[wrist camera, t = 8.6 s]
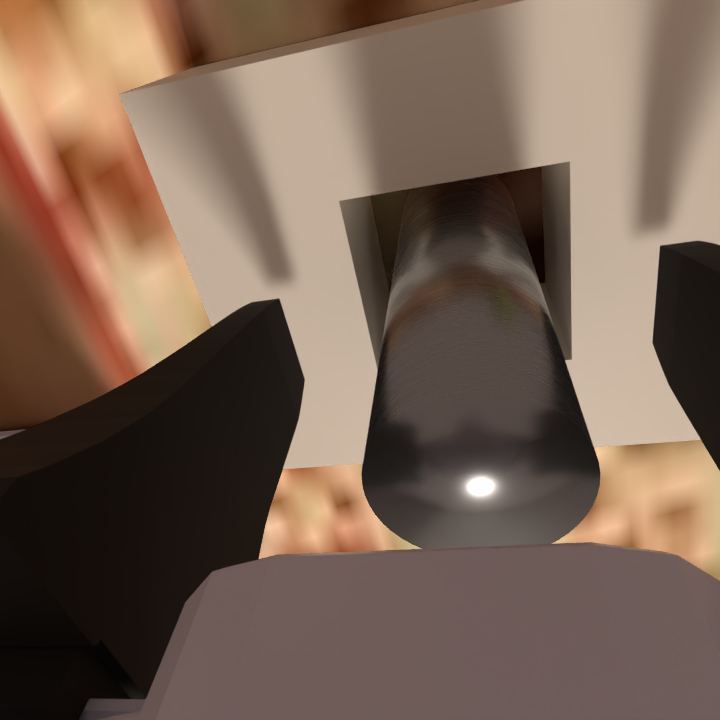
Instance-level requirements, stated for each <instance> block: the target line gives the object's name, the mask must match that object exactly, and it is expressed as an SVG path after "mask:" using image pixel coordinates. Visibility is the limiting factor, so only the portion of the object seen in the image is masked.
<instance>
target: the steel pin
mask: <svg viewBox="0 0 720 720" xmlns="http://www.w3.org/2000/svg"><path fill="white" fill-rule="evenodd" d="M362 485H363V489H364V493H365V496H366V499H367V501H368V503H369V505H370V507H371V508H372V510H373V512H374V513H375V515H376V516H377V517H378V518H379V519H380V520H381V522H382V523H383V524H384V525H385V526H387V527H388V528H389V529H390V530H391V531H392V532H394V533H395V534H396V535H398V536H399V537H401V538H402V539H404V540H406V541H408V542H409V543H411V544H413V545H415V546H418V547H420V548H422V549H436V548H461V547H487V546H512V545H537V544H551V543H553V542H555V541H557V540H559V539H560V538H562V537H563V536H565V535H566V534H568V533H569V532H570V531H571V530H573V529H574V528H575V527H576V526H577V525H578V524H579V523H580V522H581V521H582V520H583V519H584V518H585V516H586V515H587V513H588V512H589V510H590V509H591V507H592V506H593V503H594V501H595V499H596V497H597V493H598V489H599V485H600V468H599V462H598V459H597V456H596V453H595V450H594V447H593V443H592V440H591V437H590V434H589V431H588V428H587V425H586V422H585V419H584V416H583V413H582V410H581V407H580V404H579V401H578V398H577V395H576V392H575V389H574V386H573V383H572V380H571V377H570V374H569V371H568V368H567V365H566V362H565V359H564V355H563V352H562V349H561V346H560V343H559V340H558V337H557V334H556V331H555V328H554V325H553V322H552V319H551V316H550V313H549V310H548V307H547V304H546V301H545V298H544V295H543V292H542V289H541V286H540V283H539V280H538V277H537V274H536V270H535V267H534V264H533V261H532V258H531V255H530V252H529V249H528V246H527V243H526V240H525V237H524V234H523V231H522V228H521V225H520V222H519V219H518V216H517V213H516V210H515V207H514V204H513V201H512V198H511V195H510V192H509V190H508V188H507V186H506V185H505V183H504V182H503V180H502V179H501V178H500V177H499V176H498V175H497V174H493V175H487V176H481V177H476V178H470V179H464V180H458V181H452V182H446V183H441V184H435V185H429V186H423V187H417V188H411V190H410V191H409V193H408V195H407V198H406V200H405V204H404V207H403V213H402V220H401V226H400V232H399V239H398V245H397V251H396V258H395V264H394V270H393V277H392V283H391V289H390V296H389V302H388V308H387V314H386V321H385V327H384V333H383V340H382V346H381V352H380V359H379V365H378V371H377V378H376V384H375V390H374V397H373V403H372V409H371V416H370V422H369V428H368V434H367V441H366V447H365V453H364V460H363V467H362Z"/></svg>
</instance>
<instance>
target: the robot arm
mask: <svg viewBox="0 0 720 720" xmlns="http://www.w3.org/2000/svg"><path fill="white" fill-rule="evenodd" d="M652 343H653V346H654V349H655V351H656V354H657V357H658V360H659V362H660V365H661V367H662V370H663V372H664V375H665V377H666V380H667V382H668V385H669V386H670V388H671V390H672V392H673V393H674V395H675V397H676V399H677V400H678V402H679V404H680V405H681V407H682V409H683V410H684V412H685V414H686V416H687V417H688V419H689V421H690V422H691V424H692V426H693V427H694V429H695V430H696V432H697V434H698V435H699V437H700V439H701V440H702V442H703V444H704V445H705V447H706V449H707V450H708V452H709V454H710V455H711V457H712V459H713V460H714V462H715V464H716V465H717V467H718V469H719V470H720V245H718V244H714V243H710V242H705V241H698V240H697V241H690V242H683V243H676V244H668V245H661V246H660V252H659V264H658V277H657V290H656V302H655V315H654V328H653V341H652ZM304 383H305V378H304V375H303V372H302V369H301V365H300V362H299V359H298V356H297V353H296V350H295V346H294V343H293V340H292V337H291V334H290V330H289V327H288V324H287V321H286V318H285V314H284V311H283V308H282V305H281V302H280V299H279V298H278V299H271V300H264V301H257V302H251V303H249V304H247V305H245V306H243V307H241V308H239V309H238V310H236V311H234V312H233V313H231V314H230V315H228V316H227V317H225V318H224V319H222V320H221V321H219V322H218V323H217V324H215V325H214V326H212V327H211V328H209V329H208V330H207V331H205V332H204V333H202V334H201V335H199V336H198V337H197V338H195V339H194V340H192V341H191V342H189V343H188V344H187V345H185V346H184V347H182V348H181V349H179V350H177V351H176V352H174V353H173V354H171V355H170V356H168V357H167V358H165V359H164V360H162V361H161V362H159V363H157V364H156V365H154V366H153V367H151V368H150V369H148V370H147V371H145V372H143V373H142V374H140V375H138V376H137V377H135V378H133V379H132V380H130V381H128V382H126V383H125V384H123V385H121V386H119V387H117V388H115V389H113V390H111V391H110V392H108V393H106V394H104V395H102V396H100V397H98V398H96V399H94V400H92V401H90V402H88V403H86V404H84V405H81V406H79V407H77V408H75V409H72V410H70V411H68V412H66V413H64V414H61V415H59V416H57V417H55V418H52V419H50V420H48V421H46V422H44V423H41V424H39V425H36V426H34V427H31V428H29V429H22V430H12V431H1V432H0V720H720V581H719V580H717V579H716V578H714V577H712V576H711V575H709V574H707V573H706V572H704V571H702V570H701V569H699V568H697V567H696V566H694V565H693V564H691V563H689V562H688V561H686V560H684V559H683V558H681V557H679V556H678V555H674V554H670V553H666V552H662V551H654V550H646V549H638V548H631V547H623V546H615V545H607V544H599V543H591V542H588V543H562V544H537V545H512V546H487V547H461V548H436V549H411V550H386V551H360V552H335V553H310V554H285V555H274V556H270V557H266V558H262V559H258V558H259V553H260V548H261V543H262V539H263V534H264V529H265V524H266V521H267V517H268V513H269V510H270V506H271V503H272V500H273V497H274V494H275V491H276V488H277V485H278V482H279V479H280V476H281V473H282V470H283V467H284V464H285V461H286V458H287V455H288V452H289V449H290V445H291V442H292V439H293V436H294V433H295V430H296V427H297V423H298V420H299V415H300V409H301V404H302V397H303V390H304Z"/></svg>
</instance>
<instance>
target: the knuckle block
mask: <svg viewBox="0 0 720 720" xmlns="http://www.w3.org/2000/svg"><path fill="white" fill-rule="evenodd" d="M119 95H120V97H121V100H122V102H123V105H124V107H125V110H126V112H127V115H128V117H129V120H130V122H131V125H132V127H133V130H134V132H135V135H136V137H137V140H138V142H139V145H140V147H141V150H142V152H143V155H144V157H145V160H146V163H147V165H148V168H149V170H150V173H151V175H152V178H153V180H154V183H155V185H156V188H157V190H158V193H159V195H160V198H161V200H162V203H163V205H164V208H165V210H166V213H167V215H168V218H169V220H170V223H171V225H172V228H173V230H174V233H175V235H176V238H177V241H178V243H179V246H180V248H181V251H182V253H183V256H184V258H185V261H186V263H187V266H188V268H189V271H190V273H191V276H192V278H193V281H194V283H195V286H196V288H197V291H198V293H199V296H200V298H201V301H202V303H203V306H204V308H205V311H206V313H207V316H208V318H209V321H210V324H211V326H214V325H215V324H217V323H218V322H219V321H221V320H222V319H224V318H225V317H227V316H228V315H230V314H231V313H233V312H234V311H236V310H238V309H239V308H241V307H243V306H245V305H247V304H249V303H251V302H257V301H264V300H271V299H278V298H279V299H280V302H281V305H282V308H283V311H284V314H285V318H286V321H287V324H288V327H289V330H290V334H291V337H292V340H293V343H294V346H295V350H296V353H297V356H298V359H299V362H300V365H301V369H302V372H303V375H304V378H305V383H304V390H303V397H302V404H301V409H300V415H299V420H298V423H297V427H296V430H295V433H294V436H293V439H292V442H291V445H290V449H289V452H288V455H287V458H286V461H285V464H284V467H283V469H292V468H306V467H320V466H334V465H349V464H363V460H364V453H365V447H366V441H367V434H368V428H369V422H370V416H371V409H372V403H373V397H374V390H375V384H376V378H377V371H378V365H379V359H380V352H381V346H382V340H383V333H384V327H385V321H386V314H387V308H388V302H389V296H390V294H389V289H388V284H387V279H386V274H385V268H384V263H383V258H382V253H381V248H380V243H379V238H378V233H377V228H376V223H375V218H374V213H373V208H372V203H371V198H370V196H371V195H376V194H382V193H388V192H394V191H400V190H406V189H411V188H417V187H423V186H429V185H435V184H441V183H446V182H452V181H458V180H464V179H470V178H476V177H481V176H487V175H493V174H499V173H505V172H511V171H517V170H522V169H528V168H534V167H540V166H541V178H542V205H543V233H544V261H545V283H540V286H541V289H542V292H543V295H544V298H545V301H546V304H547V307H548V310H549V313H550V316H551V319H552V322H553V325H554V328H555V331H556V334H557V337H558V340H559V343H560V346H561V349H562V352H563V355H564V359H565V362H566V365H567V368H568V371H569V374H570V377H571V380H572V383H573V386H574V389H575V392H576V395H577V398H578V401H579V404H580V407H581V410H582V413H583V416H584V419H585V422H586V425H587V428H588V431H589V434H590V437H591V440H592V443H593V447H604V446H618V445H633V444H647V443H661V442H675V441H689V440H701V439H700V437H699V435H698V434H697V432H696V430H695V429H694V427H693V426H692V424H691V422H690V421H689V419H688V417H687V416H686V414H685V412H684V410H683V409H682V407H681V405H680V404H679V402H678V400H677V399H676V397H675V395H674V393H673V392H672V390H671V388H670V386H669V385H668V382H667V380H666V377H665V375H664V372H663V370H662V367H661V365H660V362H659V360H658V357H657V354H656V351H655V349H654V346H653V343H652V341H653V328H654V315H655V302H656V290H657V277H658V264H659V252H660V246H661V245H668V244H676V243H683V242H690V241H697V240H698V241H705V242H710V243H714V244H718V245H720V0H478V1H474V2H470V3H466V4H461V5H457V6H453V7H449V8H444V9H440V10H436V11H432V12H427V13H423V14H419V15H415V16H410V17H406V18H402V19H398V20H393V21H389V22H385V23H381V24H376V25H372V26H368V27H364V28H359V29H355V30H351V31H347V32H342V33H338V34H334V35H330V36H325V37H321V38H317V39H313V40H308V41H304V42H300V43H296V44H291V45H287V46H283V47H279V48H274V49H270V50H266V51H262V52H257V53H253V54H249V55H245V56H240V57H236V58H232V59H228V60H223V61H219V62H215V63H211V64H206V65H202V66H198V67H194V68H191V69H188V70H185V71H182V72H180V73H177V74H174V75H171V76H168V77H166V78H163V79H160V80H157V81H155V82H152V83H149V84H146V85H143V86H141V87H138V88H135V89H132V90H129V91H127V92H124V93H121V94H119Z"/></svg>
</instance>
